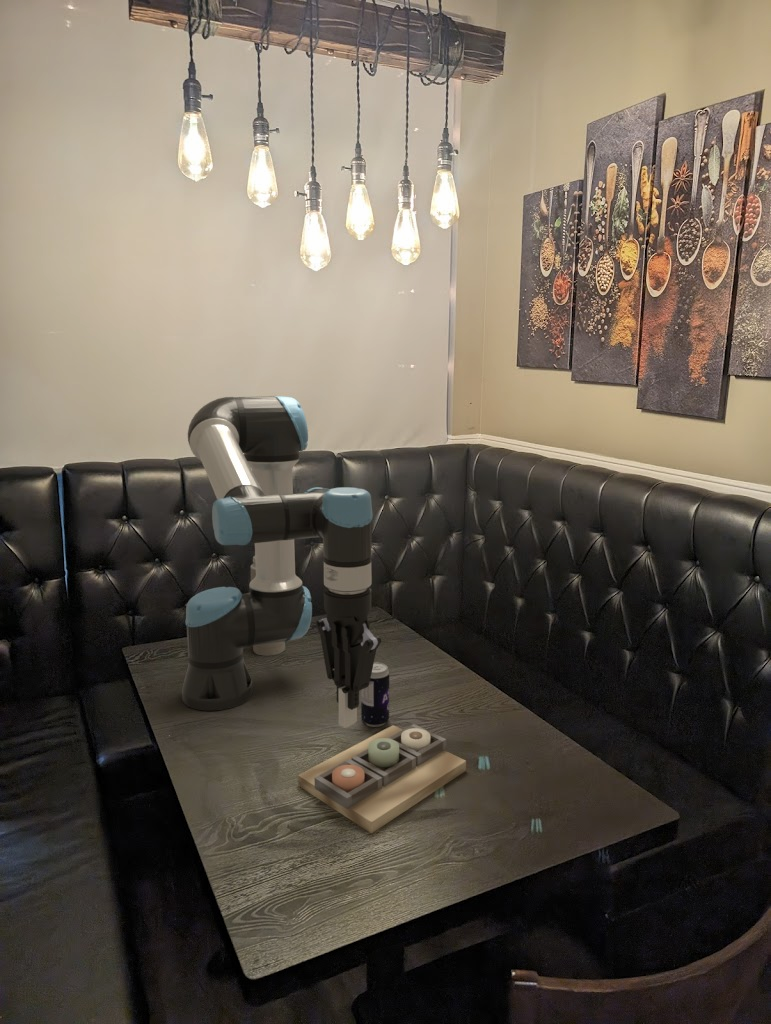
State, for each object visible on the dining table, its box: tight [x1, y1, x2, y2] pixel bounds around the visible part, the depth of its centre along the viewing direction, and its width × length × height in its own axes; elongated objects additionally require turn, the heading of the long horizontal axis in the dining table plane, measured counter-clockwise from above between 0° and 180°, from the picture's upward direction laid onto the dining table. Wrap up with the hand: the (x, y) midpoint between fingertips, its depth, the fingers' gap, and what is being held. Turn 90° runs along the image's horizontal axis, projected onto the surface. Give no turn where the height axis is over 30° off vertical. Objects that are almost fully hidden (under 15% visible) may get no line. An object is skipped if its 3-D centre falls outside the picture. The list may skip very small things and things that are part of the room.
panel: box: [297, 723, 467, 834], centre depth 123 cm, size 18×25×4 cm
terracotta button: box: [332, 765, 364, 793], centre depth 117 cm, size 5×5×3 cm
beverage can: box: [360, 661, 390, 728], centre depth 142 cm, size 6×6×12 cm
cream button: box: [401, 728, 431, 752], centre depth 129 cm, size 5×5×3 cm
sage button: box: [368, 738, 399, 767], centre depth 123 cm, size 5×5×3 cm
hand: (347, 723), depth 115 cm, fingers closed
